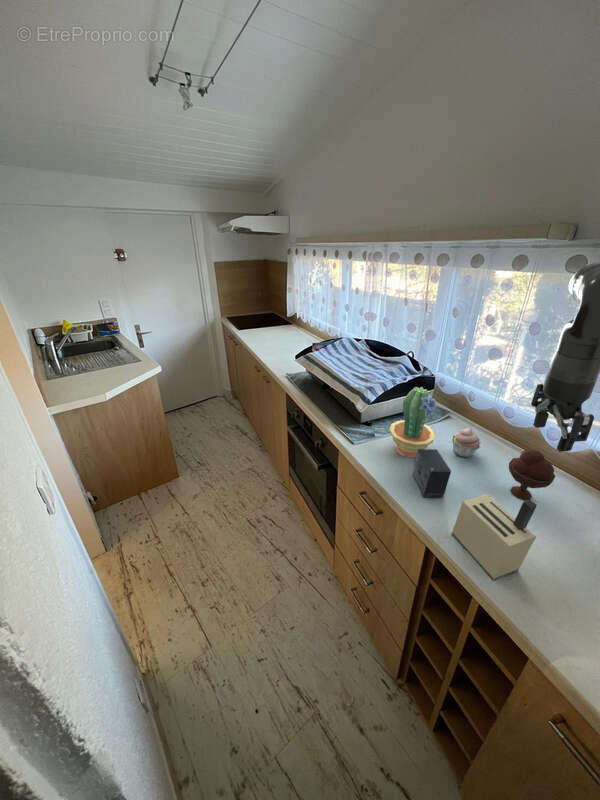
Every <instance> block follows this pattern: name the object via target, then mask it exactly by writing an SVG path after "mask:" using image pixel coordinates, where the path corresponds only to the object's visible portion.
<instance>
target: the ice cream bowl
mask: <svg viewBox="0 0 600 800" xmlns="http://www.w3.org/2000/svg"><path fill="white" fill-rule="evenodd" d="M508 471H509V473H510V475H511V477H512V478H513V479H514V481H515V482H517V483H518V484H520V486H519V485H515V486H514V485H513V486H512V487H510V489H509V491H510V493H511V495H512V496H514V497H515V498H517V499H519V500H521V501H528V500H532V498H533V494H532V493H531V491H530V490H528V488H530V489H541V488H548V487H549V486H550V485H551V484H552V483H553V482H554V481H555V478H556V474H555V468H554V465H553V463H551V462H550V461H549V460H547V459H546V458H545V456H544V454H543V453H542V452H541V451H540V450H538V449H534V448H528V449H524V450H523V451H522V452H521V454H520V455H519V457H513V458H512V459H511V460H510V461H509V463H508Z"/></svg>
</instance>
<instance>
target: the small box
mask: <svg viewBox="0 0 600 800" xmlns="http://www.w3.org/2000/svg"><path fill="white" fill-rule="evenodd" d="M415 458H416V459H415V462H414V467H413V471H412V474H411V475H412V477H413V479H414V481H415V484H416V486H417V487H418V489H419V491H420V493H421V496H422V498H424V499H431V498H433V499H434V498H435V499H439V498H440V499H441V498H444V496H445V493H446V490H447V486H448V483H449V480H450V476H451V473H452V470H451V468H450V467H449V465H448V464H447V462H446V461H445V459H444V458H443V457H442V455H441V453H440V452H439V451H438V449H437V448H426V449H418V453H417V457H415Z"/></svg>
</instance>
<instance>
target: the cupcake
mask: <svg viewBox="0 0 600 800" xmlns="http://www.w3.org/2000/svg"><path fill="white" fill-rule="evenodd" d="M451 441H452V450H453V452H454V454H455V455H457V456H459V457H461V458H471V457H472V456H473V455H474V454H475V453H476V451H477V450H479V449H480V448H481V440H480V438H479V437H478V434H476V432H474V431H473V430H472V428H464V429H462V430H459V431H457V433H456V434H455V435H452V439H451Z"/></svg>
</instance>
